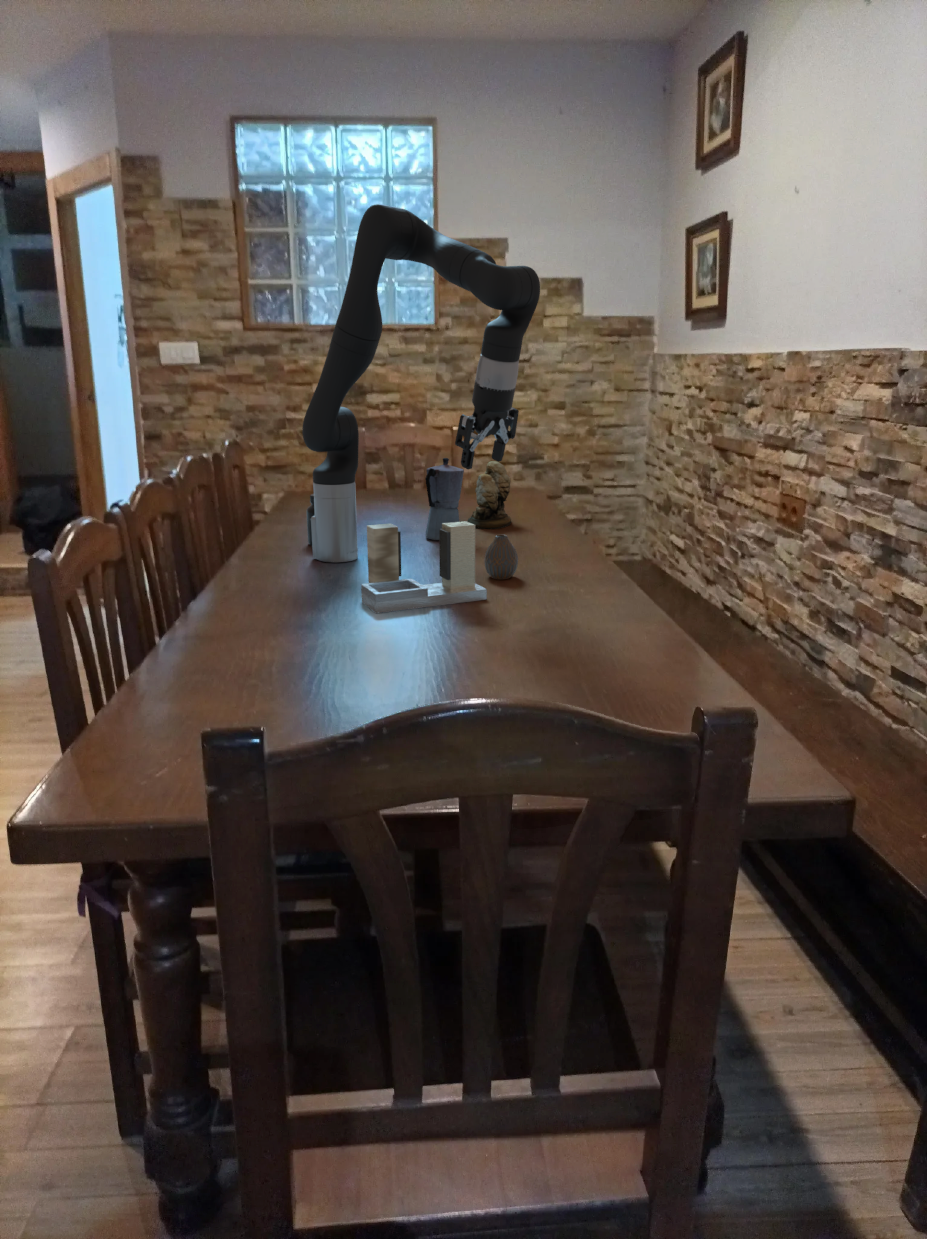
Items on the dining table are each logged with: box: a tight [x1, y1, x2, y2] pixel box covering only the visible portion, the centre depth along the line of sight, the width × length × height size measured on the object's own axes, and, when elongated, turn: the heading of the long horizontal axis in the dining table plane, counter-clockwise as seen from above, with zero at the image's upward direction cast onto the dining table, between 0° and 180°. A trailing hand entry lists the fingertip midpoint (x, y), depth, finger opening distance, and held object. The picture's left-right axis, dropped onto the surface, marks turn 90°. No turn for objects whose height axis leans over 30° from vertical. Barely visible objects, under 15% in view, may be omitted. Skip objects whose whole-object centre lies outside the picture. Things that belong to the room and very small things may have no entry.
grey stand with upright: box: [360, 520, 488, 614], centre depth 160 cm, size 22×8×14 cm, turn 115°
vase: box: [484, 534, 519, 580], centre depth 178 cm, size 7×7×9 cm
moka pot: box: [424, 457, 465, 541], centre depth 214 cm, size 10×15×20 cm, turn 155°
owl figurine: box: [467, 460, 512, 530], centre depth 235 cm, size 18×12×17 cm, turn 169°
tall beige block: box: [366, 523, 402, 583], centre depth 171 cm, size 6×4×12 cm
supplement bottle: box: [306, 493, 315, 547], centre depth 209 cm, size 7×7×12 cm
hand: (481, 463), depth 166 cm, fingers open, 8 cm apart
